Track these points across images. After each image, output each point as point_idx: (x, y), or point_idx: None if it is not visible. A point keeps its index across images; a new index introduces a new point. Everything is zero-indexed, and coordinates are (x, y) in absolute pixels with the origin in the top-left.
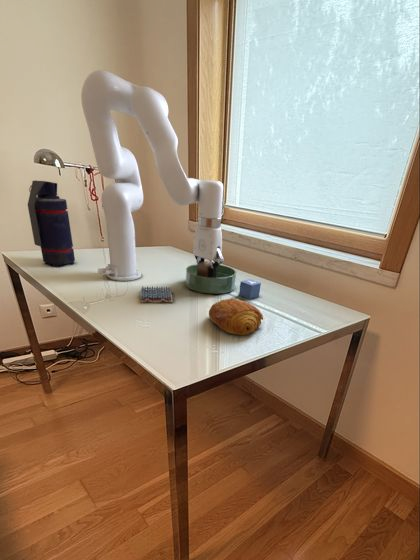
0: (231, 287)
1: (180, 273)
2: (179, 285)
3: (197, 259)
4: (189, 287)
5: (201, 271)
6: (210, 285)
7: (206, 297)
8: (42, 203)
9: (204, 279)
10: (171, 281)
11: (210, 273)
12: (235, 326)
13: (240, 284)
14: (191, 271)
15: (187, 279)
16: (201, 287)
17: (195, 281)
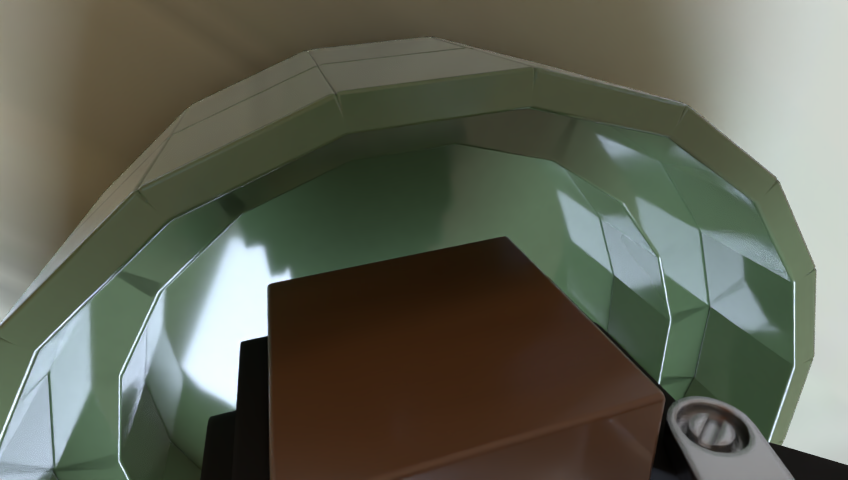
0: None
1: (844, 250)
2: (623, 15)
3: (772, 476)
4: (431, 38)
5: (433, 325)
6: (59, 250)
7: (11, 78)
8: None
9: (112, 203)
10: (778, 11)
11: (243, 433)
12: None
13: None
14: (722, 287)
15: (552, 67)
16: (190, 118)
17: (311, 74)
